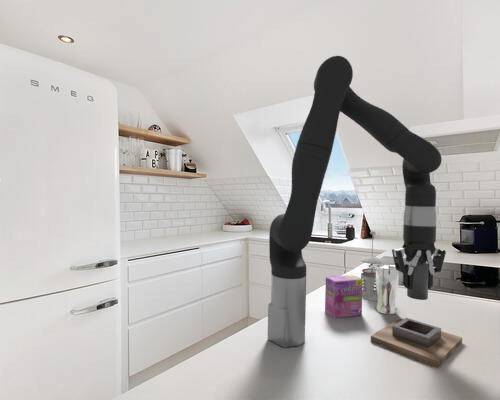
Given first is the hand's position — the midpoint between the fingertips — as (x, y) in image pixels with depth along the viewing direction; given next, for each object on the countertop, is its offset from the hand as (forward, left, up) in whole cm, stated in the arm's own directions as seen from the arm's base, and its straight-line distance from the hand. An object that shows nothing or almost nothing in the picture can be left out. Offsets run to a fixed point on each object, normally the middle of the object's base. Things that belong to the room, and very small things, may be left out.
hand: (417, 287), depth 80 cm
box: (+2, +23, -15) cm, 27 cm away
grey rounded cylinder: (0, 0, -2) cm, 2 cm away
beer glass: (+15, +15, -15) cm, 26 cm away
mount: (0, 0, -14) cm, 14 cm away
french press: (+25, +25, -15) cm, 38 cm away
